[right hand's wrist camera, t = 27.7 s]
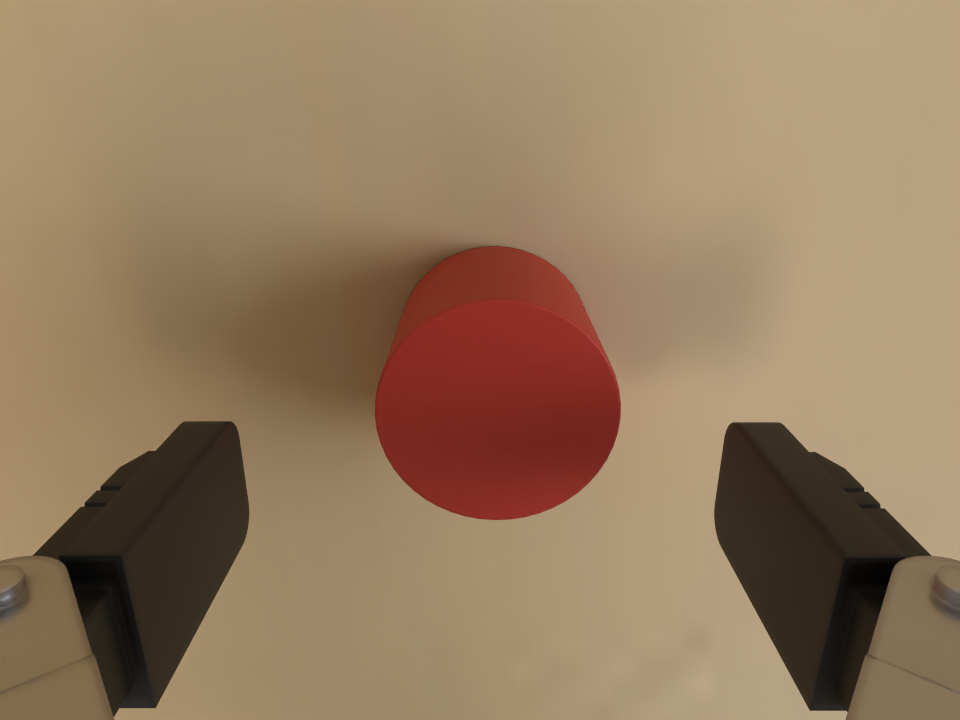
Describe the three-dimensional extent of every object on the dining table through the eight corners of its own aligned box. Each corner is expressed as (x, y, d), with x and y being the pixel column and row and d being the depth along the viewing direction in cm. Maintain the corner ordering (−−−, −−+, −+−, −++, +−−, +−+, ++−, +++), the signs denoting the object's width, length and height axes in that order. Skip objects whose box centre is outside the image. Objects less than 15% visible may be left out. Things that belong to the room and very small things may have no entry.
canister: (373, 383, 16) (340, 472, 12) (442, 214, 15) (428, 258, 11) (538, 447, 17) (555, 551, 13) (621, 291, 15) (666, 358, 12)
